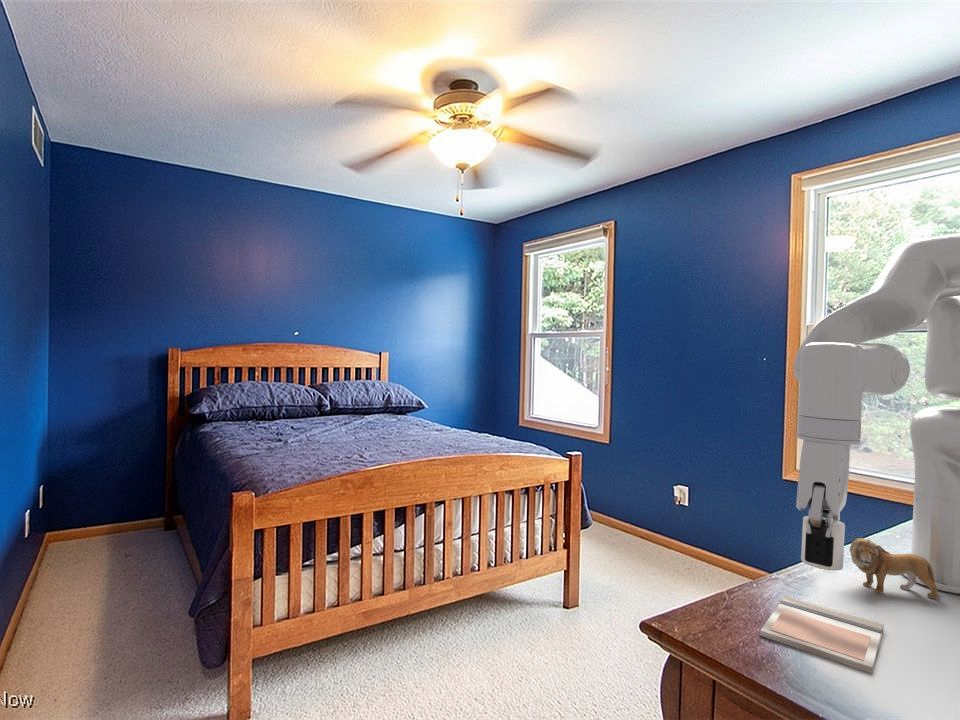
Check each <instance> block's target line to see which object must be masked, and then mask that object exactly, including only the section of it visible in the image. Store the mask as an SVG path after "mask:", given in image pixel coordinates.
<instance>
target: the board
mask: <svg viewBox="0 0 960 720" xmlns="http://www.w3.org/2000/svg"><path fill="white" fill-rule="evenodd" d="M884 626H885V625H884V623H880V622H876V621H874V620H869V619H866V618H863V617H859V616H856V615H853V614H849V613H845V612H843V611H839V610H835V609H831V608H829V607H826V606H821V605H818V604H815V603H810V602H808V601H804V600H801V599H797V598H793V597H790V596H786V595H784V597H783V598H782V599H781V600H780V602H779V604H778V605H777V607H776V608H775V609H774V611H773V612H772V613H771V615H770V616H769V618H767V620H766V622H765V623H764V624H763V626H762V628H761V629H760V630H759V631H760V633H759V634H760V636H761V637H763V638H766V639H769V640H772V641H775V642H778V643H780V644H784V645H786V646H790V647H793V648H795V649H799V650H802V651H805V652H807V653H810V654H813V655H817V656H819V657H822V658H825V659H828V660H831V661H834V662H836V663H840V664H842V665H846V666H848V667H851V668H854V669H857V670H861V671H863V672H866V673H869V674H873V671H874V667H875V663H876V660H877V655H878V652H879V648H880V644H881V640H882V636H883V633H884Z"/></svg>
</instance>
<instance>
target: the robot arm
mask: <svg viewBox="0 0 960 720" xmlns="http://www.w3.org/2000/svg"><path fill="white" fill-rule="evenodd" d="M924 321H926V326H927V327H926V329H927V330H926V331H927V333H926V347H925V349H926V350H925V363H924V365H925V366H924V383H925V388H926V390H927V392H928V393H929V395H930V394H931V395H932V396H934V397H936V398H940V399H945V400H953V401H960V233H955V234H948V235H940V236H931V237H925V238H923V237H922V238H919V239H914V240H911V241H908V242H906V243H904V244H902V245H901V246H900V247H899V248H898V249H897V250H896V251H895V252H894V253H893V254H892V256H891V257H890V259H889V260H888V262H887V263H886V265H885V266H884V268H883V269H882V271H881V273H880V274H879V276H878V278H877V279H876V280H875V282H874V284H873V285H872V286H871V288H870V290H869V291H868V293H867V294H865V295H863V296H861V297H859V298H856V299H854V300H851V302H849V303H847V304H845V305H844V306H842V307H840V308H838V309H835V311H832V312H831V313H829V314H828V315H826V316H825V317H823V318H822V319H820V320H819V321H818V322H816V324H815V325H813V327H811V330H810V331H809V332H808V334H807V335H806V337H805V339H803V342H802V343H801V345H800V346H799V348H798V350H797V352H796V355H795V358H794V361H793V373H794V374H793V375H794V377H795V379H796V381H797V382H798V383H799V384H798V385H799V386H798V406H797V407H798V408H797V409H798V410H797V427H796V428H797V431H796V433H797V434H796V438H797V439H800V440H803V441H802V445H801V446H802V447H801V452H800V460H799V469H798V480H797V492H796V500H795V501H796V503H795V506H796V508H797V509H798V510H799V511H803V510H804V509H807V507H808V515H807V516H808V523H807V532H806V544H805V560H806V561H807V562H811V563H815V564H819V565H823V566H827V567H831V566H832V564H833V545H834V537H831V534H832V522H833V519H835V520H838V521H840V520H841V511H842V510H843V509H844V508H845V506H846V503H847V497H848V489H849V477H850V459H851V458H850V454H851V451H850V450H851V446H853V445H854V446H855V445H860V444H861V437H862V436H861V433H862V415H863V412H862V411H863V395H866V396H867V395H868V396H888V395H891V394H893V393H897V392H899V390H901V389H902V388H903V387H904V386H905V385H906V384H907V382H908V379H909V376H910V373H911V369H910V368H911V367H910V362H909V360H908V357H907V356H906V355H905V353H904V351H902V350H901V349H899V348H898V347H895V346H893V345H891V344H887V343H886V344H885V343H873V342H871V343H870V342H869V343H867V342H868V341H873V340H877V339H881V338H886V337H889V336H893V335H896V334H900V333H902V332H906V331H908V330H912V329H914V328H917V326H919V325H921V324H923V323H924ZM909 433H910V440H911V446H912V452H913V461H914V487H913V488H914V489H913V491H914V492H913V510H912V530H911V553H910V554H915V555H919V556H921V557H923V558H924V559H926V560H927V561H928V562H929V564H930V565H931V567H932V570H933V573H934V579H935V584H936V587H937V589H938V590H939V591H943V592H947V593H952V594H958V595H960V407H954V406H953V407H951V406H933V407H927V408H923V409H921V410H919V411H917V412H916V414H914V415H913V417H912V419H911V421H910V427H909ZM823 518H827V523H826V521H825V520H822V519H823ZM902 575H903V576H904V577H905V578H907V579H908V576H907V574H906V573H905V574H902ZM916 584H920V585H922V586H926V585H925V584H924V583H922V582H921V581H920V580H919V579H918V578H917V577H916ZM926 587H927V586H926Z"/></svg>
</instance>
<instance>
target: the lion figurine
mask: <svg viewBox="0 0 960 720" xmlns="http://www.w3.org/2000/svg"><path fill="white" fill-rule="evenodd" d="M849 552H850V556H851V560H852V562H853V564H854V565H855V566H856V567H858V569H859V570H860V571H862V573H864V574H865V578H866V581H864V582H863V583H862V586H864V587H867V588H871V587H872V585H873V583H874V576H875V577H876V588H874V589H873V591H874V593H875V594H879V595H882V594H883V593H885V588H884V584H885V579H886V577H887V575H888V576H893V577H894V576H896V577H897V576H902V575H903V574H905V573H906V574H907V576H908V578H907V580H908V581H907V583H906V584H900V585H899V586H900V588H901V589H902V590H908V591H909V590H910V589H911V588H912V587H914V585H916V584H917V582H916V577H917V578H918V579H919V580H920V581H921V582H922V583H924V584H925V585H926V587H928V588H929V589H930V591H931V592H928V593H927V595H926V596H927V597H928V598H929V599H933V600H935V599H937V598H938V592H940V590H938V589H937V587H936V584H935V579H934V573H933V570H932V567H931V565H930V564H929V562H928V561H927V560H926V559H924V558H923V557H921V556H919V555H915V554H911V553H902V554H901V553H900V554H899V553H890V552H888V551H887V550H885V549H884V548H883V547H882V546H881V545H878V544H876V543H874V542H873V541H872V540H870V539H869V538H865V537H864V538H863V537H862V538H861V537H859V538H858V537H857V538H856V539H854V540H853V541H852V542H851V544H850V547H849ZM925 585H924V586H925Z"/></svg>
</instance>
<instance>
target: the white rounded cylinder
mask: <svg viewBox="0 0 960 720" xmlns="http://www.w3.org/2000/svg"><path fill="white" fill-rule="evenodd" d="M822 520H825V521H826V523H827V518H823V519H822ZM807 523H808V515H806V516H805V515H804V516H803V518H802V530H801V531H802V533H801V553H800V560H801V562H802V563H804V564H806V565H808V566H810V567H812V568H816V569H820V570H826V571H833V572H834V571H841V570H843V569H844V555H845V553H844V552H845V537H846V536H845V534H846V533H845V532H846V523H844V522H843V521H838V520H835V519H833V522H832V534H831V537H834V545H833V564H832V566H831V567H827V566H823V565H819V564H815V563H811V562H807V561H806V560H805V544H806V532H807Z"/></svg>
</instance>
